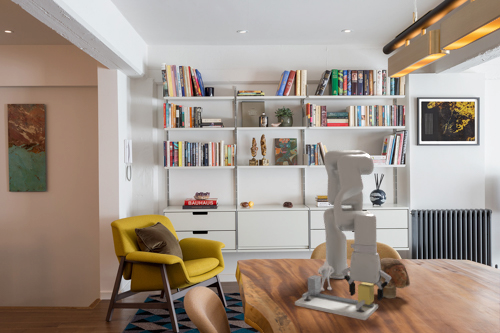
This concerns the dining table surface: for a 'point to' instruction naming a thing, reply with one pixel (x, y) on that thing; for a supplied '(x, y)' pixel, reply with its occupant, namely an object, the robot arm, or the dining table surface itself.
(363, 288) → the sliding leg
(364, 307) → the hole plate
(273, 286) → the dining table surface
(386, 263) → the sculpture
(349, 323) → the dining table surface
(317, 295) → the rail
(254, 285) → the dining table surface
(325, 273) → the figurine
